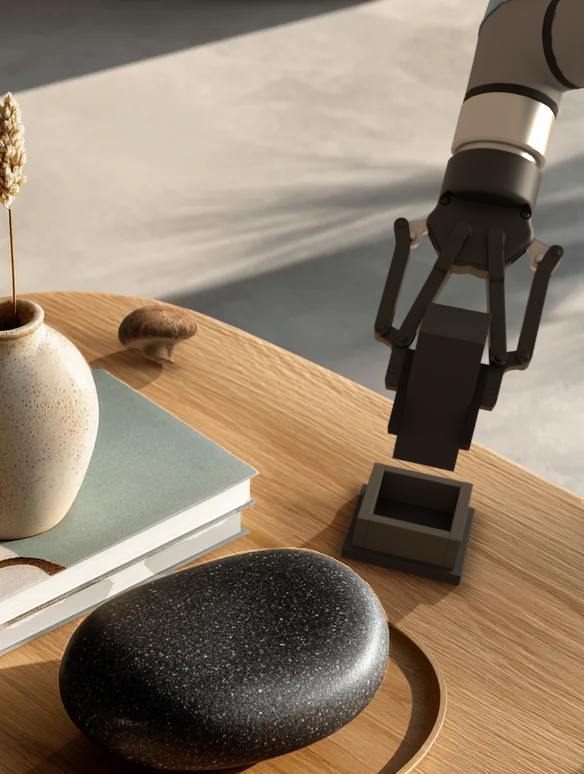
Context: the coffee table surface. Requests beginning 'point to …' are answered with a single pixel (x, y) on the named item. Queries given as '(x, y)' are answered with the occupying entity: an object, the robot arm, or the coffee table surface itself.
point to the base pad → (411, 523)
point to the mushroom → (157, 331)
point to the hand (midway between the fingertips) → (428, 438)
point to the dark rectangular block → (441, 385)
